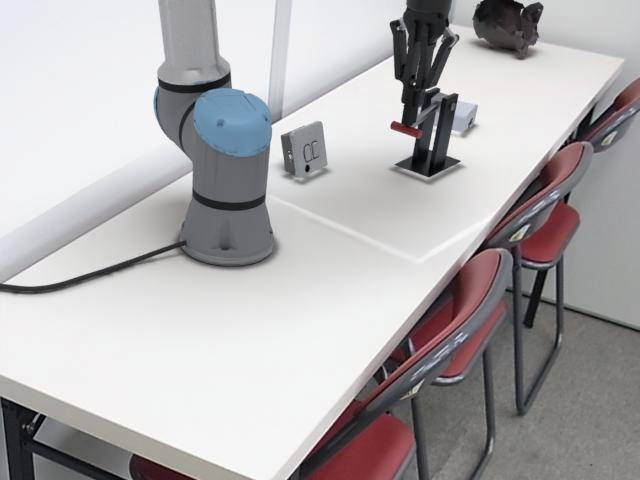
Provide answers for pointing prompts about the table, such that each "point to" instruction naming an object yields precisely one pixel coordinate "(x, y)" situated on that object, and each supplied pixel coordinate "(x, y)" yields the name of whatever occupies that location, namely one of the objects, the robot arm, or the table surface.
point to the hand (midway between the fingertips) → (408, 122)
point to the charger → (460, 116)
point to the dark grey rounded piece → (507, 23)
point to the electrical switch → (304, 149)
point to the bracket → (436, 158)
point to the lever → (420, 118)
